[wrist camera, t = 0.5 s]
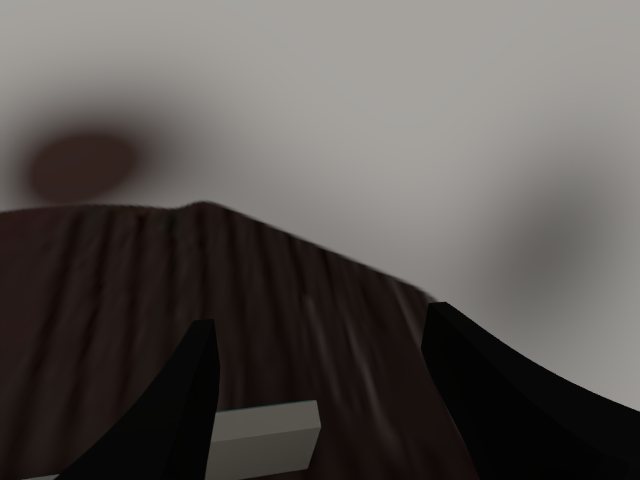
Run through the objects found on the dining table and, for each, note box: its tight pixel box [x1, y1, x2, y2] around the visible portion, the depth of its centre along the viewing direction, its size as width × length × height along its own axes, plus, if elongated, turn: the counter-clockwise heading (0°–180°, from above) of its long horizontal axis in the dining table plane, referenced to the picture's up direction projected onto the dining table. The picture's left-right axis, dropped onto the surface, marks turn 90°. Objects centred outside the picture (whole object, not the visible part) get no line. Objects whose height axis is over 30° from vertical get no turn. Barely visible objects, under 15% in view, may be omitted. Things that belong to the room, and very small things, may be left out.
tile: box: [205, 400, 321, 480], centre depth 24 cm, size 2×8×7 cm, turn 101°
